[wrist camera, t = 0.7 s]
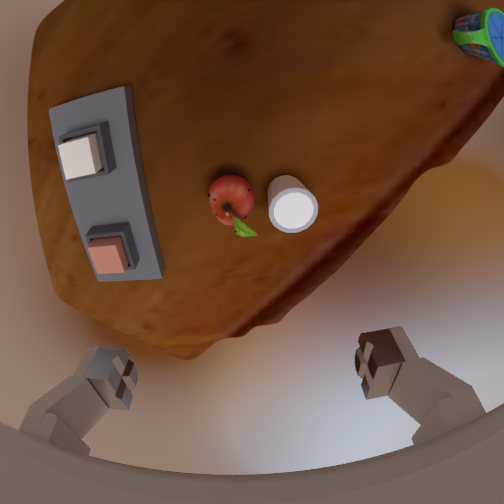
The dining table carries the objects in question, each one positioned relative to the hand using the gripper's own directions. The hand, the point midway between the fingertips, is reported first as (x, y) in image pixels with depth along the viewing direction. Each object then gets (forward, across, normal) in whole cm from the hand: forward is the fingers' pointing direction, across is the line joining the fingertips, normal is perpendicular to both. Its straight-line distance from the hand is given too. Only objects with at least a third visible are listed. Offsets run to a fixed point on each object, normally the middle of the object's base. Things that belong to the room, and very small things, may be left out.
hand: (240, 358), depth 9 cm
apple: (+37, +2, +4) cm, 37 cm away
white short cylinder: (+37, -6, +5) cm, 38 cm away
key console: (+35, +22, +1) cm, 42 cm away
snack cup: (+35, -41, -25) cm, 59 cm away
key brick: (+31, +22, +10) cm, 40 cm away
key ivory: (+29, +22, -6) cm, 37 cm away
